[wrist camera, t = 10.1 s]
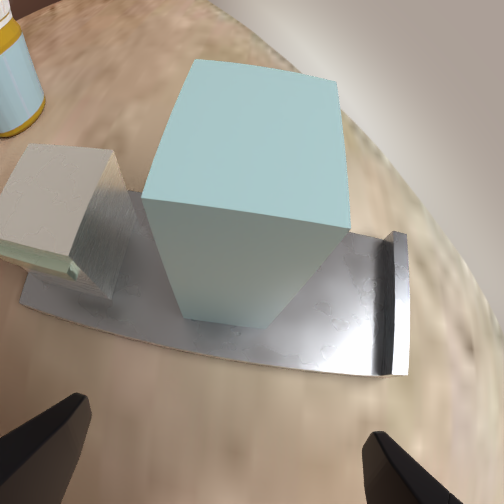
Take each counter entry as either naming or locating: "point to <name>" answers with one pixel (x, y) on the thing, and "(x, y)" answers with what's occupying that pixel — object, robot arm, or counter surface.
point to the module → (247, 190)
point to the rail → (159, 288)
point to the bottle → (16, 78)
